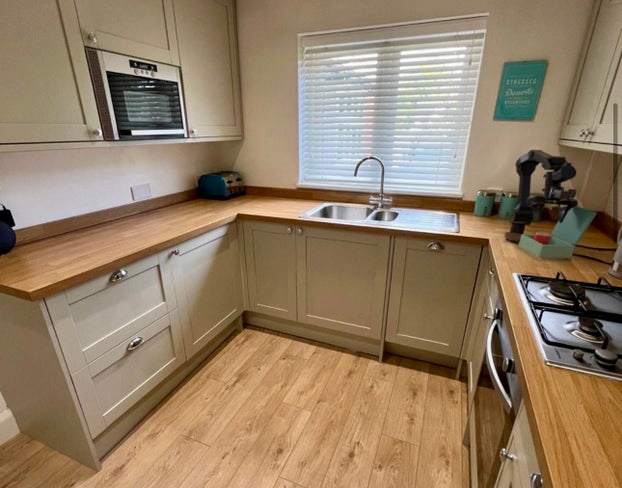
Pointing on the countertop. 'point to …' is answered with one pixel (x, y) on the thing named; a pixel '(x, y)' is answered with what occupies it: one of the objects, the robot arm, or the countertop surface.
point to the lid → (574, 224)
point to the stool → (513, 236)
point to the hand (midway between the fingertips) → (550, 222)
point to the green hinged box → (547, 247)
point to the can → (542, 238)
